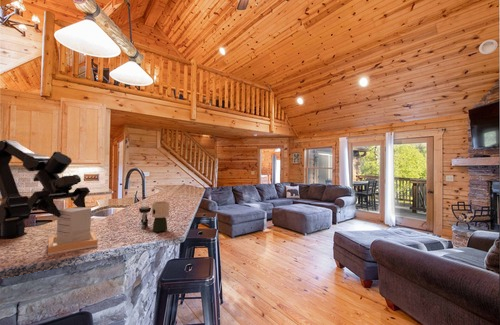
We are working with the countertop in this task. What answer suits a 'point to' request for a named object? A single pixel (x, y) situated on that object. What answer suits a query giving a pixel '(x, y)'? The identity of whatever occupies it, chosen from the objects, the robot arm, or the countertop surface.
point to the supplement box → (73, 225)
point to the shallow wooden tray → (71, 245)
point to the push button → (144, 215)
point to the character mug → (160, 215)
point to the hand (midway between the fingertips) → (72, 213)
